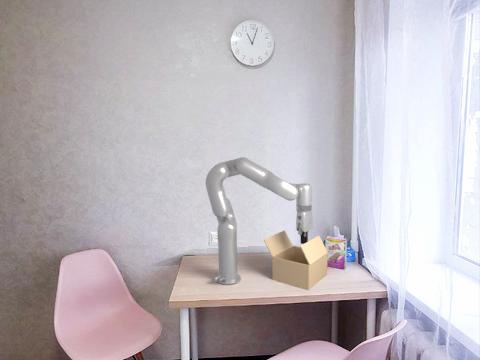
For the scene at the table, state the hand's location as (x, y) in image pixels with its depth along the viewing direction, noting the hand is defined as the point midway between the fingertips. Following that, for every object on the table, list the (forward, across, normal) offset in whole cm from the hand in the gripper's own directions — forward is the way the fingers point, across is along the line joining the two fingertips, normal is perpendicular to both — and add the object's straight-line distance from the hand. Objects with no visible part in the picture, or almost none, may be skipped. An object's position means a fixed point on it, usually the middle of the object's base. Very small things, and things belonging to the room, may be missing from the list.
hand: (304, 243), depth 158 cm
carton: (+18, 0, +2) cm, 18 cm away
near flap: (+2, 0, -5) cm, 6 cm away
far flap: (+2, 0, +15) cm, 15 cm away
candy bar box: (+19, +24, -7) cm, 31 cm away
